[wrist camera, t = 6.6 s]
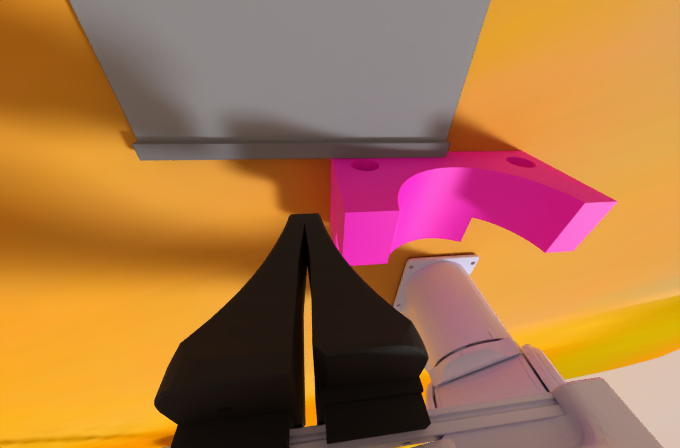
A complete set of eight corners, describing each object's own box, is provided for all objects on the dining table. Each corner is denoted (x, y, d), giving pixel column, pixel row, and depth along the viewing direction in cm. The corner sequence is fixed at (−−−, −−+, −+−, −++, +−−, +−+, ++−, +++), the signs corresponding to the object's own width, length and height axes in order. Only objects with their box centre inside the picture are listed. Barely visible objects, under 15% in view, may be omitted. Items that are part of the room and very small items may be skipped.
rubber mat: (439, 151, 18) (445, 157, 17) (148, 154, 15) (140, 160, 15) (515, -94, 11) (531, -105, 10) (-1, -160, 8) (-32, -180, 8)
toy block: (329, 221, 21) (340, 293, 15) (330, 151, 17) (345, 212, 11) (486, 214, 23) (550, 276, 17) (520, 149, 19) (617, 201, 13)
